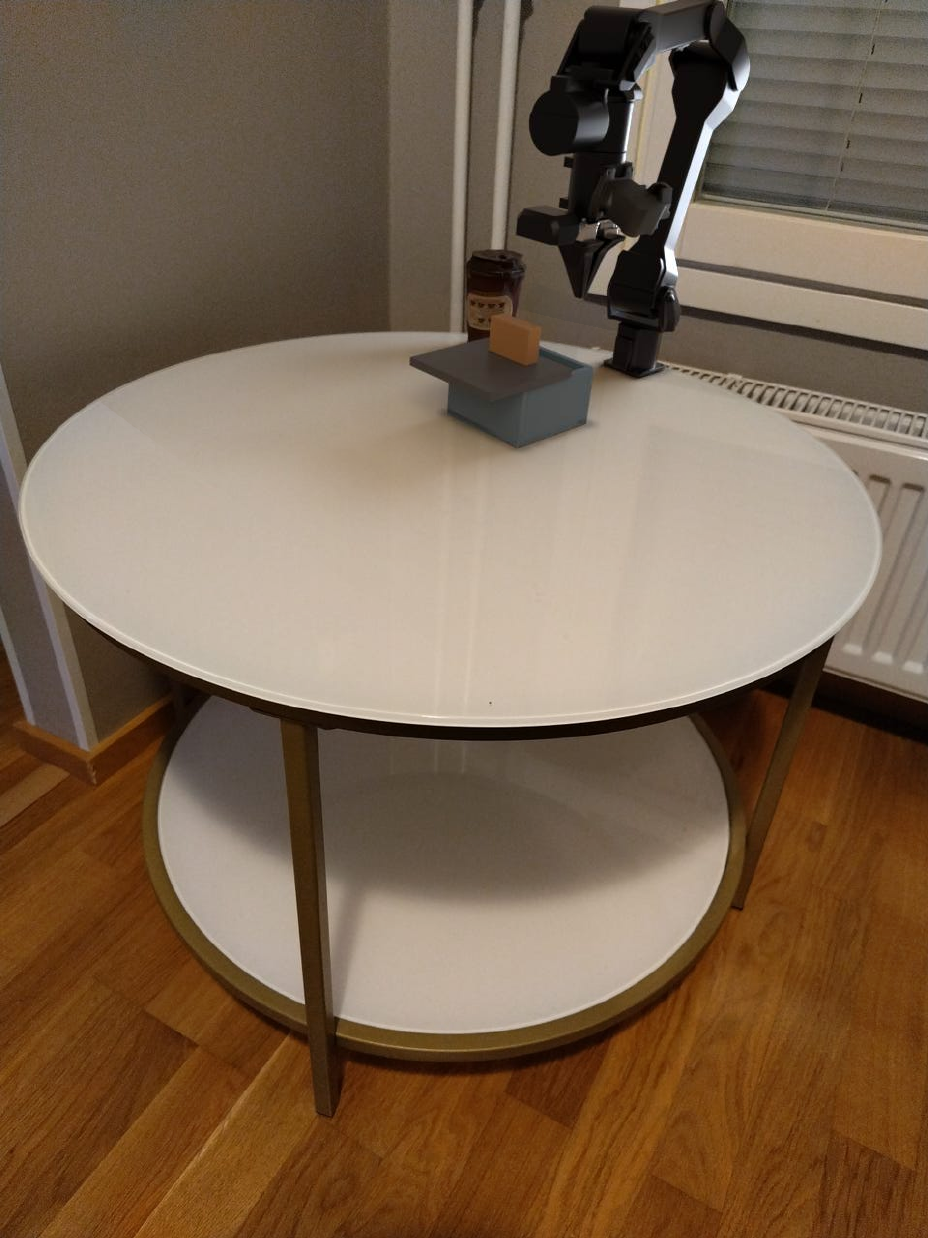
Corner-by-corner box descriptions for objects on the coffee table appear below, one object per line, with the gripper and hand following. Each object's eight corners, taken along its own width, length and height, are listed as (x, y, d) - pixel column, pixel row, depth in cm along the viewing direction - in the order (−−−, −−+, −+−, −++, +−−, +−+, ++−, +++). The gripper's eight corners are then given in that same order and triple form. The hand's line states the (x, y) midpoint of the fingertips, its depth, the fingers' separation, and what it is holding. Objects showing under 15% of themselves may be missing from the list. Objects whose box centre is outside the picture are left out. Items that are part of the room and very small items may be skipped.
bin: (515, 392, 111) (520, 338, 107) (586, 423, 104) (594, 367, 100) (446, 413, 104) (449, 356, 100) (517, 448, 98) (523, 388, 93)
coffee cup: (513, 361, 120) (522, 264, 113) (455, 354, 121) (460, 257, 114) (522, 342, 127) (531, 249, 120) (467, 335, 128) (473, 242, 121)
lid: (491, 344, 105) (494, 302, 102) (571, 377, 97) (577, 332, 94) (409, 365, 97) (410, 320, 94) (489, 402, 90) (493, 355, 87)
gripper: (603, 166, 83) (580, 329, 92) (711, 156, 94) (681, 302, 103) (519, 148, 89) (506, 302, 98) (630, 140, 100) (609, 280, 109)
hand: (579, 297), depth 102 cm, fingers closed
